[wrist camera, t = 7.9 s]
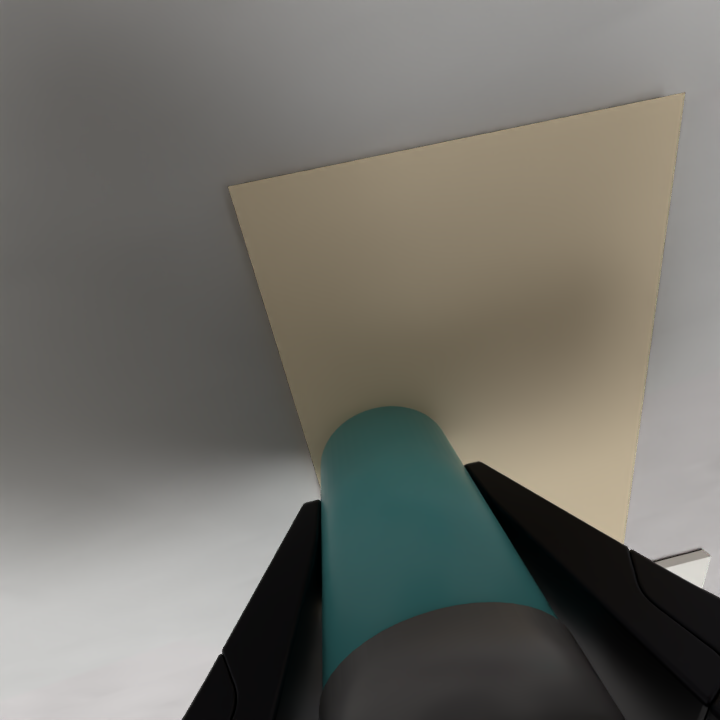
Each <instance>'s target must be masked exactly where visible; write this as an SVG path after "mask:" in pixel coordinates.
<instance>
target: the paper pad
mask: <svg viewBox="0 0 720 720" xmlns="http://www.w3.org/2000/svg"><path fill="white" fill-rule="evenodd" d="M684 98H685V92H684V93H679V94H675V95H670V96H665V97H660V98H655V99H650V100H645V101H641V102H636V103H631V104H626V105H621V106H616V107H611V108H607V109H602V110H597V111H592V112H587V113H582V114H577V115H573V116H568V117H563V118H558V119H553V120H548V121H544V122H539V123H534V124H529V125H524V126H519V127H514V128H510V129H505V130H500V131H495V132H490V133H485V134H480V135H476V136H471V137H466V138H461V139H456V140H451V141H446V142H442V143H437V144H432V145H427V146H422V147H417V148H412V149H408V150H403V151H398V152H393V153H388V154H383V155H378V156H374V157H369V158H364V159H359V160H354V161H349V162H345V163H340V164H335V165H330V166H325V167H320V168H315V169H311V170H306V171H301V172H296V173H291V174H286V175H281V176H277V177H272V178H267V179H262V180H257V181H252V182H247V183H243V184H238V185H233V186H228V189H229V192H230V195H231V199H232V202H233V205H234V208H235V212H236V215H237V218H238V221H239V225H240V228H241V231H242V234H243V238H244V241H245V244H246V247H247V251H248V254H249V257H250V260H251V264H252V267H253V270H254V273H255V277H256V280H257V283H258V286H259V290H260V293H261V296H262V299H263V303H264V306H265V309H266V312H267V316H268V319H269V322H270V325H271V329H272V332H273V335H274V338H275V342H276V345H277V348H278V351H279V355H280V358H281V361H282V364H283V368H284V371H285V374H286V377H287V381H288V384H289V387H290V390H291V394H292V397H293V400H294V403H295V407H296V410H297V413H298V416H299V420H300V423H301V426H302V429H303V433H304V436H305V439H306V442H307V445H308V449H309V452H310V455H311V458H312V462H313V465H314V468H315V471H316V475H317V478H318V481H319V484H320V488H321V457H322V453H323V450H324V448H325V445H326V443H327V442H328V440H329V438H330V437H331V435H332V434H333V433H334V432H335V431H336V429H338V428H339V427H340V426H341V425H342V424H343V423H344V422H346V421H347V420H348V419H350V418H352V417H353V416H355V415H357V414H359V413H362V412H364V411H367V410H370V409H373V408H378V407H385V406H399V407H406V408H410V409H414V410H417V411H419V412H421V413H423V414H425V415H427V416H428V417H430V418H431V419H432V420H433V421H435V422H436V423H437V424H438V426H439V427H440V428H441V429H442V431H443V433H444V434H445V436H446V437H447V439H448V441H449V442H450V444H451V446H452V447H453V449H454V450H455V452H456V454H457V455H458V457H459V459H460V460H461V462H462V463H463V465H465V464H468V463H472V462H476V461H480V462H482V463H484V464H486V465H488V466H489V467H491V468H493V469H495V470H496V471H498V472H500V473H501V474H503V475H505V476H507V477H508V478H510V479H512V480H513V481H515V482H517V483H519V484H520V485H522V486H524V487H525V488H527V489H529V490H531V491H532V492H534V493H536V494H537V495H539V496H541V497H543V498H544V499H546V500H548V501H550V502H551V503H553V504H555V505H556V506H558V507H560V508H562V509H563V510H565V511H567V512H568V513H570V514H572V515H574V516H575V517H577V518H579V519H580V520H582V521H584V522H586V523H587V524H589V525H591V526H593V527H594V528H596V529H598V530H599V531H601V532H603V533H605V534H606V535H608V536H610V537H611V538H613V539H615V540H617V541H618V542H620V543H622V544H623V545H624V538H625V530H626V523H627V516H628V508H629V501H630V494H631V486H632V479H633V472H634V464H635V457H636V450H637V442H638V435H639V428H640V420H641V413H642V406H643V398H644V391H645V384H646V376H647V369H648V362H649V354H650V347H651V340H652V332H653V325H654V318H655V310H656V303H657V296H658V288H659V281H660V274H661V266H662V259H663V252H664V244H665V237H666V230H667V222H668V215H669V208H670V200H671V193H672V186H673V178H674V171H675V164H676V156H677V149H678V142H679V134H680V127H681V120H682V112H683V105H684Z"/></svg>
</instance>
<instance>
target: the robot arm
mask: <svg viewBox="0 0 720 720" xmlns="http://www.w3.org/2000/svg"><path fill="white" fill-rule="evenodd" d="M464 467H465V468H466V470H467V472H468V473H469V475H470V476H471V478H472V480H473V481H474V483H475V485H476V486H477V488H478V489H479V491H480V493H481V494H482V496H483V498H484V499H485V501H486V502H487V504H488V506H489V507H490V509H491V511H492V512H493V514H494V515H495V517H496V519H497V520H498V522H499V524H500V525H501V527H502V528H503V530H504V532H505V533H506V535H507V536H508V538H509V540H510V541H511V543H512V545H513V546H514V548H515V549H516V551H517V553H518V554H519V556H520V558H521V559H522V561H523V562H524V564H525V566H526V567H527V569H528V571H529V572H530V574H531V575H532V577H533V579H534V580H535V582H536V584H537V585H538V587H539V588H540V590H541V592H542V593H543V595H544V597H545V598H546V600H547V601H548V603H549V605H550V606H551V608H552V610H553V611H554V613H555V614H556V616H557V618H558V619H559V621H561V622H562V623H563V624H564V625H565V626H566V627H567V628H568V629H569V630H570V632H571V633H572V635H573V636H574V638H575V640H576V641H577V643H578V644H579V646H580V648H581V649H582V651H583V652H584V654H585V656H586V657H587V659H588V660H589V662H590V663H591V665H592V667H593V668H594V670H595V671H596V673H597V675H598V676H599V678H600V679H601V681H602V683H603V684H604V686H605V687H606V689H607V691H608V692H609V694H610V695H611V697H612V699H613V700H614V702H615V703H616V705H617V707H618V708H619V710H620V711H621V713H622V715H623V716H624V718H625V719H626V720H720V598H719V597H717V596H716V595H714V594H712V593H710V592H708V591H706V590H704V589H702V588H700V587H698V586H696V585H694V584H692V583H690V582H689V581H687V580H685V579H683V578H682V577H680V576H678V575H676V574H674V573H673V572H671V571H669V570H667V569H665V568H664V567H662V566H660V565H658V564H656V563H655V562H653V561H651V560H650V559H648V558H646V557H644V556H643V555H641V554H639V553H637V552H636V551H634V550H630V551H629V549H628V547H627V546H625V545H623V544H622V543H620V542H618V541H617V540H615V539H613V538H611V537H610V536H608V535H606V534H605V533H603V532H601V531H599V530H598V529H596V528H594V527H593V526H591V525H589V524H587V523H586V522H584V521H582V520H580V519H579V518H577V517H575V516H574V515H572V514H570V513H568V512H567V511H565V510H563V509H562V508H560V507H558V506H556V505H555V504H553V503H551V502H550V501H548V500H546V499H544V498H543V497H541V496H539V495H537V494H536V493H534V492H532V491H531V490H529V489H527V488H525V487H524V486H522V485H520V484H519V483H517V482H515V481H513V480H512V479H510V478H508V477H507V476H505V475H503V474H501V473H500V472H498V471H496V470H495V469H493V468H491V467H489V466H488V465H486V464H484V463H482V462H480V461H476V462H472V463H468V464H465V465H464ZM322 692H323V682H322V571H321V501H320V500H315V501H310V502H306V503H304V504H303V506H302V507H301V509H300V511H299V513H298V514H297V516H296V518H295V520H294V522H293V523H292V525H291V527H290V529H289V531H288V532H287V534H286V536H285V538H284V540H283V541H282V543H281V545H280V547H279V549H278V550H277V552H276V554H275V556H274V558H273V559H272V561H271V563H270V565H269V567H268V568H267V570H266V572H265V574H264V576H263V577H262V579H261V581H260V583H259V584H258V586H257V588H256V590H255V592H254V593H253V595H252V597H251V599H250V601H249V602H248V604H247V606H246V608H245V610H244V611H243V613H242V615H241V617H240V619H239V620H238V622H237V624H236V626H235V628H234V629H233V631H232V633H231V635H230V637H229V638H228V640H227V642H226V644H225V646H224V647H223V649H222V654H220V655H219V656H218V658H217V660H216V661H215V663H214V665H213V667H212V669H211V670H210V672H209V674H208V676H207V678H206V679H205V681H204V683H203V684H202V686H201V688H200V690H199V691H198V693H197V695H196V696H195V698H194V700H193V702H192V703H191V705H190V707H189V709H188V710H187V712H186V714H185V715H184V717H183V718H182V720H319V704H320V697H321V695H322Z"/></svg>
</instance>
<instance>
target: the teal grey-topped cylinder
mask: <svg viewBox="0 0 720 720" xmlns="http://www.w3.org/2000/svg"><path fill="white" fill-rule="evenodd" d="M321 571H322V682H323V692H322V695H321V697H320V704H319V720H626V719H625V718H624V716H623V715H622V713H621V711H620V710H619V708H618V707H617V705H616V703H615V702H614V700H613V699H612V697H611V695H610V694H609V692H608V691H607V689H606V687H605V686H604V684H603V683H602V681H601V679H600V678H599V676H598V675H597V673H596V671H595V670H594V668H593V667H592V665H591V663H590V662H589V660H588V659H587V657H586V656H585V654H584V652H583V651H582V649H581V648H580V646H579V644H578V643H577V641H576V640H575V638H574V636H573V635H572V633H571V632H570V630H569V629H568V628H567V627H566V626H565V625H564V624H563V623H562V622H561V621H559V619H558V618H557V616H556V614H555V613H554V611H553V610H552V608H551V606H550V605H549V603H548V601H547V600H546V598H545V597H544V595H543V593H542V592H541V590H540V588H539V587H538V585H537V584H536V582H535V580H534V579H533V577H532V575H531V574H530V572H529V571H528V569H527V567H526V566H525V564H524V562H523V561H522V559H521V558H520V556H519V554H518V553H517V551H516V549H515V548H514V546H513V545H512V543H511V541H510V540H509V538H508V536H507V535H506V533H505V532H504V530H503V528H502V527H501V525H500V524H499V522H498V520H497V519H496V517H495V515H494V514H493V512H492V511H491V509H490V507H489V506H488V504H487V502H486V501H485V499H484V498H483V496H482V494H481V493H480V491H479V489H478V488H477V486H476V485H475V483H474V481H473V480H472V478H471V476H470V475H469V473H468V472H467V470H466V468H465V467H464V465H463V463H462V462H461V460H460V459H459V457H458V455H457V454H456V452H455V450H454V449H453V447H452V446H451V444H450V442H449V441H448V439H447V437H446V436H445V434H444V433H443V431H442V429H441V428H440V427H439V426H438V424H437V423H436V422H435V421H433V420H432V419H431V418H430V417H428V416H427V415H425V414H423V413H421V412H419V411H417V410H414V409H410V408H406V407H399V406H385V407H378V408H373V409H370V410H367V411H364V412H362V413H359V414H357V415H355V416H353V417H352V418H350V419H348V420H347V421H346V422H344V423H343V424H342V425H341V426H340V427H339V428H338V429H336V431H335V432H334V433H333V434H332V435H331V437H330V438H329V440H328V442H327V443H326V445H325V448H324V450H323V453H322V457H321Z"/></svg>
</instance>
